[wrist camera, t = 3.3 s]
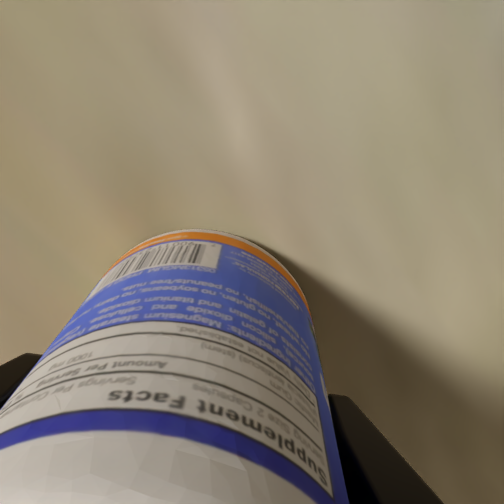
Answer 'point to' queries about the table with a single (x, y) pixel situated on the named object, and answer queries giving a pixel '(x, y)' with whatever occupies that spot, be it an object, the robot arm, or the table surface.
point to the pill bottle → (178, 388)
